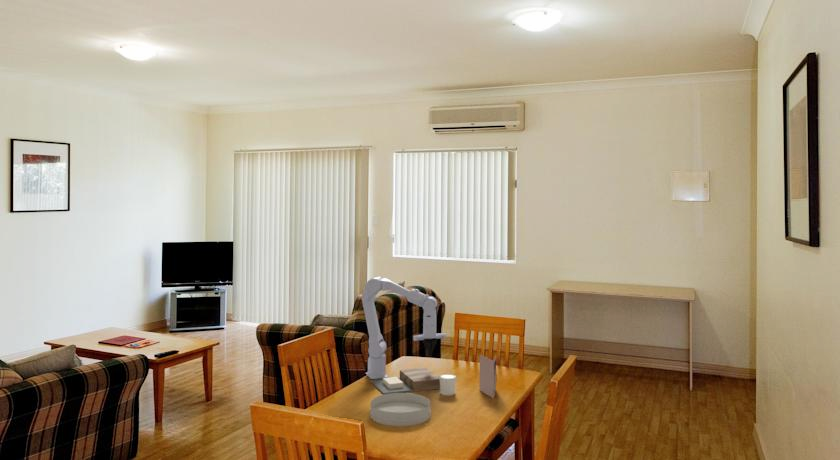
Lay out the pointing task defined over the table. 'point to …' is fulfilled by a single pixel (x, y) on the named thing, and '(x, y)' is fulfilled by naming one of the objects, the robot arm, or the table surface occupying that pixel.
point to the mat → (386, 390)
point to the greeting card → (488, 376)
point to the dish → (400, 409)
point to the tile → (393, 382)
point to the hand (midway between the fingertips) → (429, 355)
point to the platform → (420, 379)
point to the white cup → (447, 384)
